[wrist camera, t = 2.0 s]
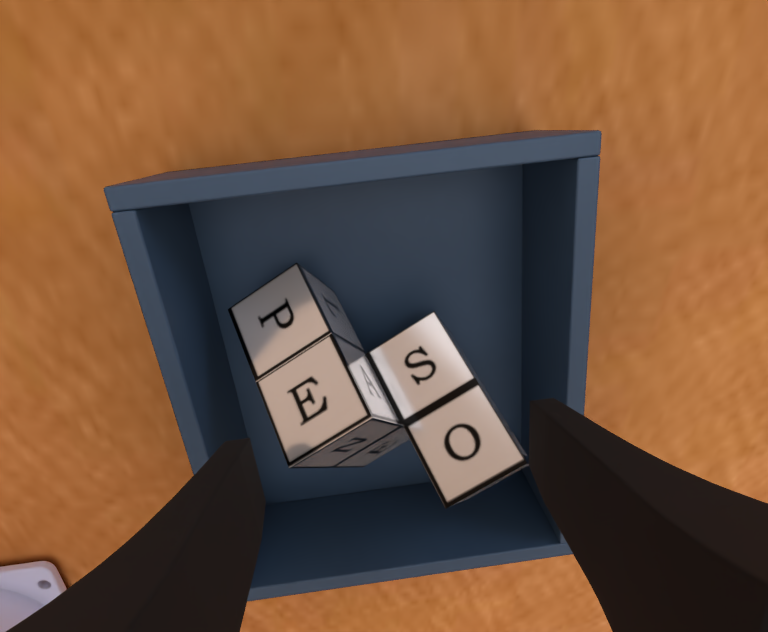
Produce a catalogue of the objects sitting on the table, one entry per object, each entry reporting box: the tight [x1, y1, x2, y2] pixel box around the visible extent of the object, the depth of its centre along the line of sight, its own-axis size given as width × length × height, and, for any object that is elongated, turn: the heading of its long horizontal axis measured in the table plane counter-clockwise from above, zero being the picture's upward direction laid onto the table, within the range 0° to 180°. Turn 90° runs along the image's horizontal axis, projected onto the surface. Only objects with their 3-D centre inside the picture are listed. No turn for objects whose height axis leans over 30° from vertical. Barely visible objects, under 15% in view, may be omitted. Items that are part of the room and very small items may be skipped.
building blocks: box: [228, 263, 529, 509], centre depth 15 cm, size 5×5×8 cm
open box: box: [104, 130, 601, 601], centre depth 16 cm, size 14×12×4 cm
